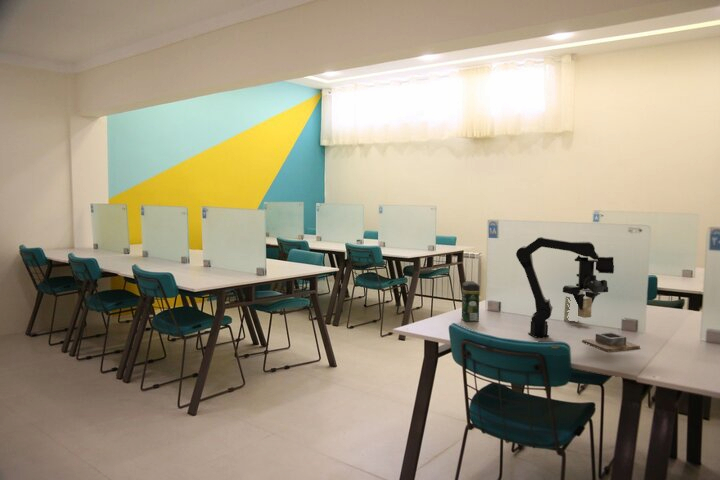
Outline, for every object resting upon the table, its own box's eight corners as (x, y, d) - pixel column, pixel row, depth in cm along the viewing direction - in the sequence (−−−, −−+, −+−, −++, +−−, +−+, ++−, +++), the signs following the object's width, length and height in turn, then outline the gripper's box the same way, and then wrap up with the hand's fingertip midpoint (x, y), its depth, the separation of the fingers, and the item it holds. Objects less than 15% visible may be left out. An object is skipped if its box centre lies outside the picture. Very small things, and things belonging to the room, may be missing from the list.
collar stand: (607, 351, 210) (607, 341, 210) (582, 342, 223) (582, 332, 223) (639, 348, 215) (640, 338, 215) (613, 339, 228) (613, 329, 228)
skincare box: (563, 321, 260) (564, 296, 258) (564, 319, 263) (566, 294, 262) (578, 322, 257) (579, 297, 256) (579, 320, 260) (580, 295, 259)
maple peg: (584, 317, 223) (584, 298, 222) (577, 315, 226) (578, 297, 226) (591, 317, 224) (591, 298, 223) (584, 315, 228) (585, 296, 227)
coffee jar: (460, 317, 266) (461, 280, 264) (476, 317, 266) (477, 280, 264) (463, 322, 256) (464, 283, 254) (480, 322, 256) (481, 283, 254)
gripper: (581, 276, 213) (579, 315, 215) (619, 274, 219) (617, 311, 220) (562, 272, 224) (561, 309, 225) (599, 270, 230) (597, 306, 231)
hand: (584, 309), depth 225 cm, fingers closed on maple peg, 4 cm apart
